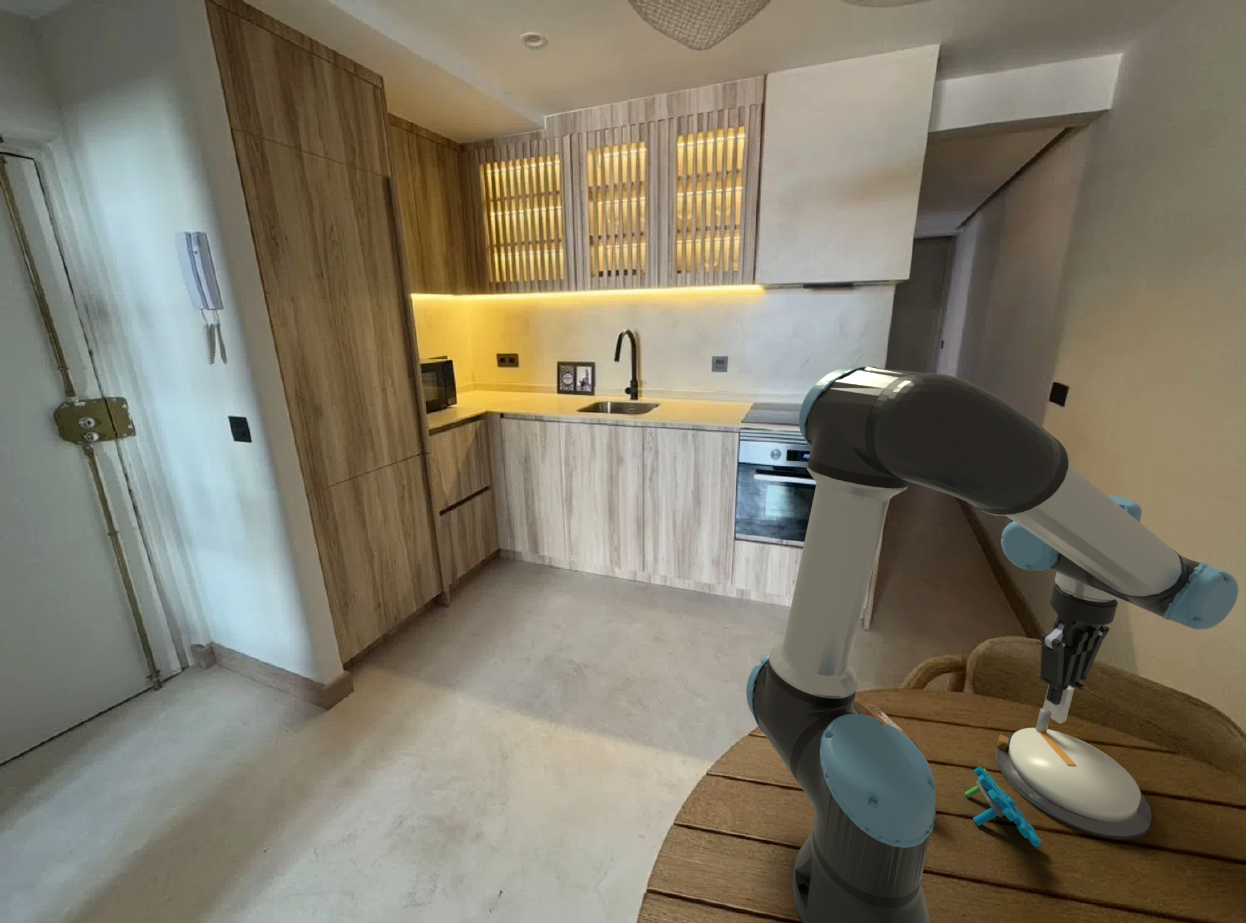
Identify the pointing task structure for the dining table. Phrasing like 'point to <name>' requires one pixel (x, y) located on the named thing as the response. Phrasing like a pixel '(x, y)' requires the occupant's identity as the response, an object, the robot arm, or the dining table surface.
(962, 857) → the dining table surface
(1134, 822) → the dial base
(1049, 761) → the dial
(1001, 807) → the gear
